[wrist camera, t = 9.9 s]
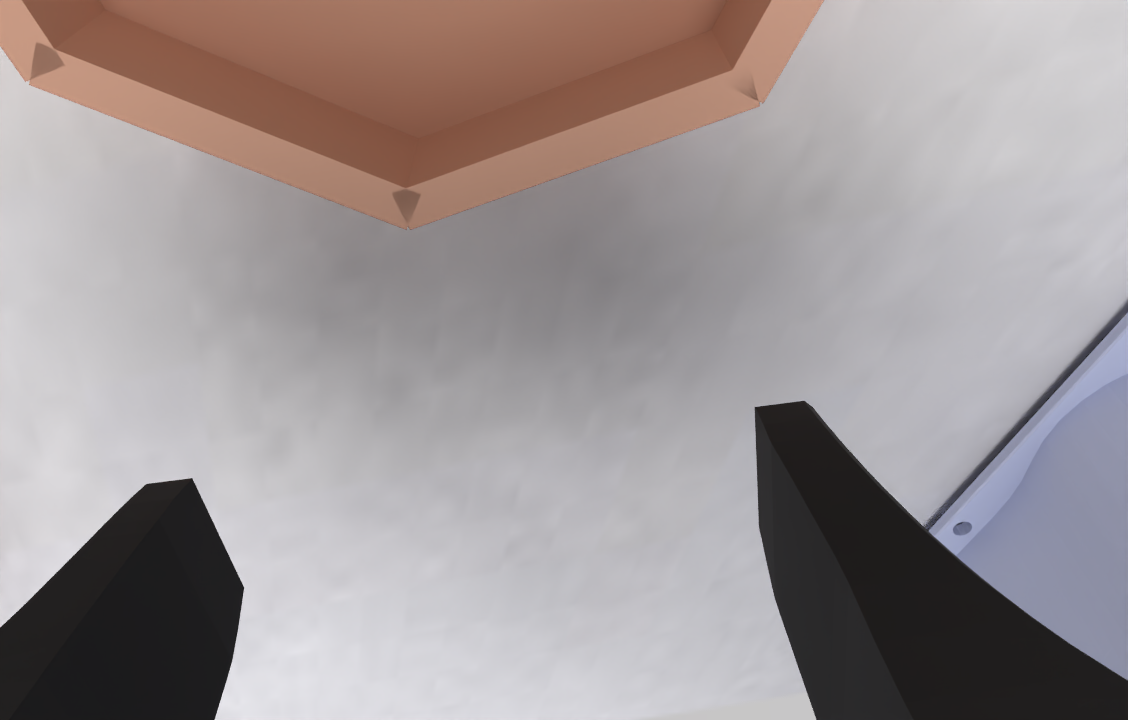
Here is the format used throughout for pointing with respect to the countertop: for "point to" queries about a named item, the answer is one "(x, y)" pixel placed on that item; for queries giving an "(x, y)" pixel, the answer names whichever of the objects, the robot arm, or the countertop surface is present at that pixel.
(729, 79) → the octagonal tray
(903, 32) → the countertop surface
